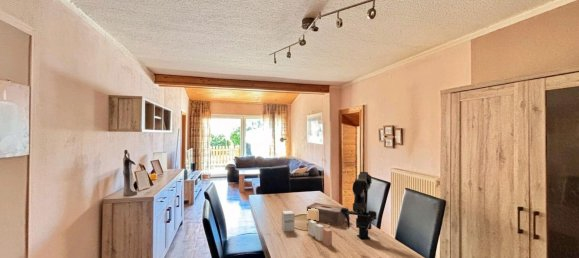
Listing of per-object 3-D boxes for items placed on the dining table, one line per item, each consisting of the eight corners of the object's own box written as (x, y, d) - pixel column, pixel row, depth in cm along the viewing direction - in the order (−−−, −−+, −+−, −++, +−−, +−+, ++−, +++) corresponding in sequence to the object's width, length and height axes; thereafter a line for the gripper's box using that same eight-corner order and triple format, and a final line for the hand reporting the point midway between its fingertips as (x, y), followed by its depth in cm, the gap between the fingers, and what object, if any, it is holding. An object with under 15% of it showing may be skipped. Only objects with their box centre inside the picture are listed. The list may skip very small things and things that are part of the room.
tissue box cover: (306, 219, 204) (306, 206, 204) (315, 214, 216) (315, 202, 216) (338, 226, 190) (338, 212, 190) (345, 220, 202) (345, 207, 202)
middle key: (319, 237, 166) (319, 223, 166) (323, 240, 161) (323, 226, 162) (315, 238, 164) (315, 224, 165) (319, 241, 160) (319, 227, 160)
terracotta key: (326, 242, 159) (326, 227, 159) (331, 245, 154) (331, 230, 154) (322, 243, 157) (322, 228, 157) (327, 246, 153) (327, 231, 153)
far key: (312, 233, 173) (312, 220, 173) (316, 235, 168) (316, 222, 169) (308, 233, 171) (308, 220, 172) (312, 236, 167) (312, 223, 167)
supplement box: (283, 233, 175) (283, 213, 175) (281, 229, 182) (281, 210, 183) (294, 232, 177) (294, 213, 177) (291, 228, 184) (292, 210, 184)
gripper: (340, 194, 147) (337, 222, 139) (376, 197, 140) (374, 227, 132) (343, 201, 155) (340, 228, 147) (377, 204, 149) (376, 233, 140)
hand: (357, 229), depth 141 cm, fingers open, 9 cm apart
